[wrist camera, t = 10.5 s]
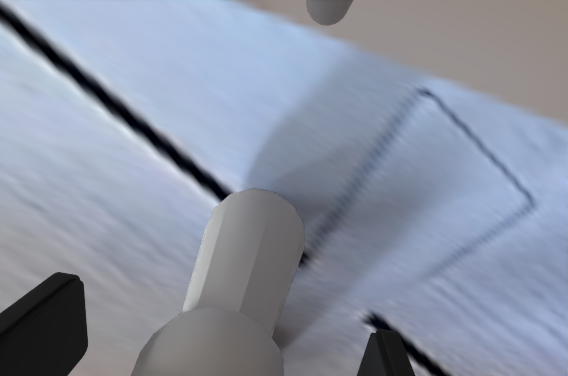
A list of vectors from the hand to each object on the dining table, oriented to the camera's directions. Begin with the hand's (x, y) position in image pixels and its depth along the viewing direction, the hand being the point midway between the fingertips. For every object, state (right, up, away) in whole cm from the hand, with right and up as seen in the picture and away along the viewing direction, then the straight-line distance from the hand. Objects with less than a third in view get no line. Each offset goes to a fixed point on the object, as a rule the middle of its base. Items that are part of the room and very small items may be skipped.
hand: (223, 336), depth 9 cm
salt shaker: (0, +3, +10) cm, 11 cm away
